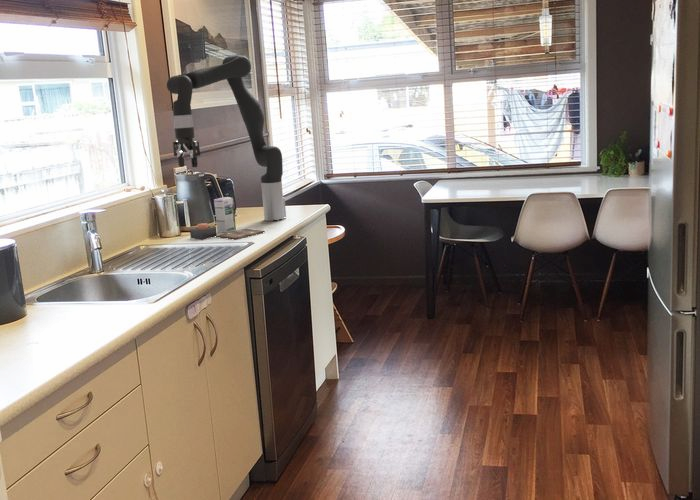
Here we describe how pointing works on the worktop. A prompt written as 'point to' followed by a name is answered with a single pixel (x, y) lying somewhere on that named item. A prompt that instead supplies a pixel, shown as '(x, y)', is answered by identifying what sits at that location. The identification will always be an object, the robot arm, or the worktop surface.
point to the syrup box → (225, 214)
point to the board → (240, 234)
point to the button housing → (203, 233)
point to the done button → (202, 226)
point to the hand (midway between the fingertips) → (188, 166)
